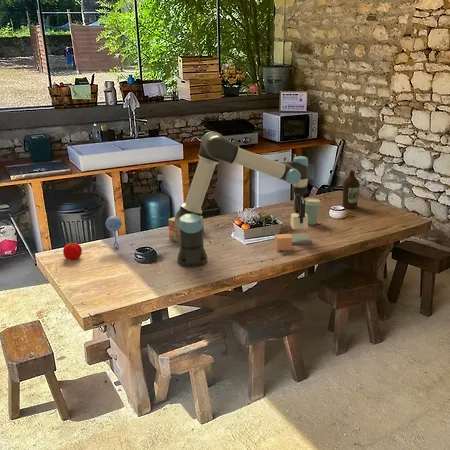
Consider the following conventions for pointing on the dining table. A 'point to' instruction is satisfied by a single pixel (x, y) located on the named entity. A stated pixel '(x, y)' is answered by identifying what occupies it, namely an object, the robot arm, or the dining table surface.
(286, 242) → the terracotta brick
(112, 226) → the baby rattle
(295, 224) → the cream brick
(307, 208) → the disposable coffee cup
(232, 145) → the robot arm
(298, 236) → the slate pad
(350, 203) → the olive oil
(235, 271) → the dining table surface
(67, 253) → the tomato
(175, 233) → the printed cardboard box
